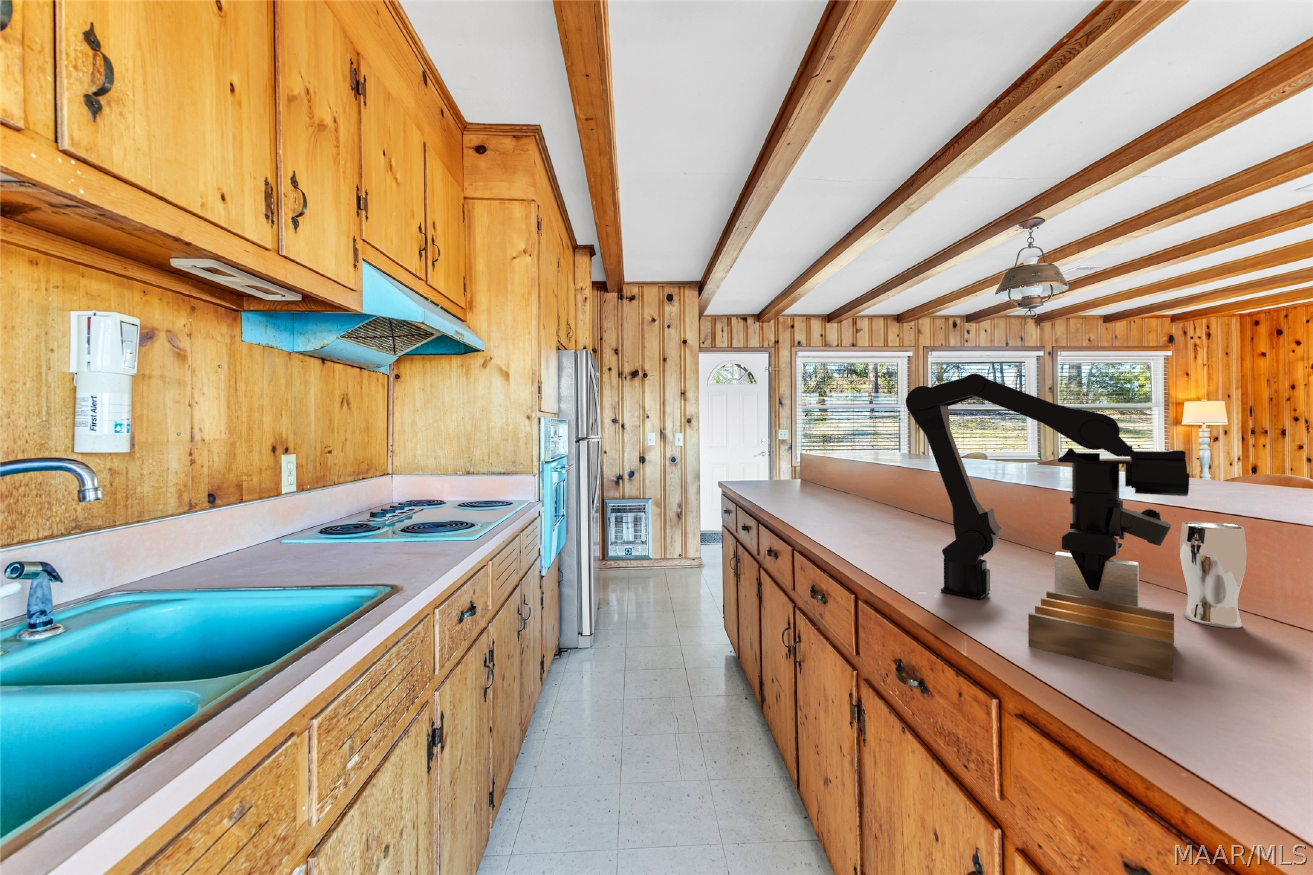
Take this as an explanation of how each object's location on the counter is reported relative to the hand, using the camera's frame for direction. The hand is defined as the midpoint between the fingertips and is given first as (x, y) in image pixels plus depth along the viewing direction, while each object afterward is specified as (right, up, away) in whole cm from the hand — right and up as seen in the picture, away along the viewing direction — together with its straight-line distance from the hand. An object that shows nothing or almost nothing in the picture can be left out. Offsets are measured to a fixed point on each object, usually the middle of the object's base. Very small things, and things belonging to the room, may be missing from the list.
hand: (1094, 588), depth 81 cm
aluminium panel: (0, -2, 0) cm, 2 cm away
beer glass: (+16, -5, -3) cm, 17 cm away
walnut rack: (-9, -5, -11) cm, 15 cm away
